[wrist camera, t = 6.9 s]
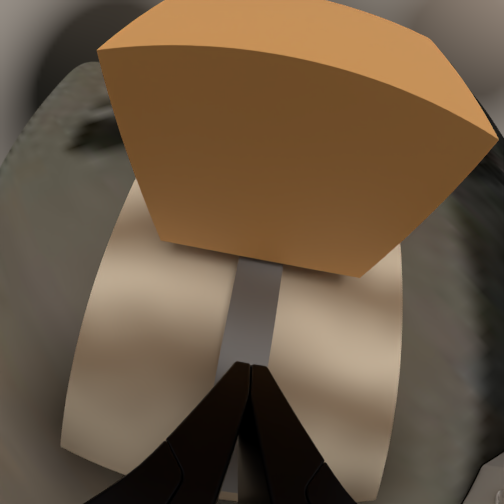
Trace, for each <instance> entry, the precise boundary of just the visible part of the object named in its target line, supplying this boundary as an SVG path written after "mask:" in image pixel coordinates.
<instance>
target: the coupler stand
mask: <svg viewBox="0 0 504 504" xmlns="http://www.w3.org/2000/svg"><path fill="white" fill-rule="evenodd" d="M401 342H402V265H401V248H400V243H399V244H398V245H397V246H396V247H395V248H394V249H393V250H392V251H390V252H389V253H388V254H387V255H386V256H385V257H384V258H383V259H381V260H380V261H379V262H378V263H377V264H376V265H375V266H373V267H372V268H371V269H370V270H369V271H368V272H366V273H365V274H364V275H363V276H362V277H361V278H357V277H351V276H346V275H341V274H335V273H330V272H324V271H319V270H314V269H308V268H303V267H297V266H292V265H287V264H281V263H276V262H271V261H265V260H260V259H255V258H250V257H244V256H239V255H234V254H228V253H223V252H218V251H213V250H207V249H202V248H197V247H192V246H187V245H181V244H176V243H171V242H166V241H161V240H160V237H159V235H158V233H157V230H156V228H155V225H154V223H153V221H152V218H151V216H150V213H149V211H148V208H147V205H146V203H145V200H144V198H143V195H142V193H141V190H140V187H139V185H138V182H137V179H135V181H134V183H133V186H132V188H131V190H130V192H129V194H128V196H127V199H126V201H125V203H124V206H123V208H122V210H121V213H120V215H119V217H118V220H117V222H116V225H115V227H114V230H113V232H112V235H111V237H110V240H109V242H108V245H107V248H106V250H105V253H104V256H103V259H102V261H101V264H100V267H99V270H98V273H97V276H96V279H95V282H94V285H93V288H92V291H91V295H90V298H89V301H88V305H87V308H86V312H85V315H84V319H83V322H82V326H81V330H80V334H79V338H78V342H77V346H76V350H75V355H74V359H73V364H72V369H71V374H70V379H69V385H68V390H67V396H66V403H65V409H64V417H63V425H62V434H61V444H60V447H62V448H64V449H66V450H68V451H70V452H72V453H74V454H76V455H78V456H80V457H83V458H85V459H87V460H89V461H91V462H94V463H96V464H98V465H101V466H103V467H106V468H108V469H111V470H113V471H116V472H119V473H121V474H124V475H127V474H128V473H129V472H131V471H132V470H133V469H134V468H136V467H137V466H138V465H140V464H141V463H142V462H143V461H144V460H145V459H146V458H147V457H148V456H149V455H150V454H151V453H152V452H153V451H154V450H155V449H156V448H157V447H158V446H159V445H160V444H161V443H162V442H163V441H166V438H167V437H168V436H169V435H170V434H171V433H172V432H173V431H174V430H175V429H176V428H177V426H178V425H179V424H180V423H181V422H182V421H183V420H184V419H185V418H186V417H187V416H188V415H189V413H190V412H191V411H192V410H193V409H194V408H195V407H196V406H197V405H198V403H199V402H200V401H201V400H202V399H203V398H204V397H205V396H206V394H207V393H208V392H209V391H210V390H211V389H212V388H213V387H214V385H215V384H216V383H217V382H218V381H219V380H220V378H221V377H222V376H223V375H224V374H225V373H226V371H227V370H228V369H229V368H230V367H231V366H232V364H233V363H234V362H236V361H240V362H245V363H249V364H250V365H252V364H257V365H264V366H267V367H268V369H269V370H270V372H271V374H272V375H273V377H274V379H275V380H276V382H277V384H278V386H279V387H280V389H281V391H282V392H283V394H284V396H285V397H286V399H287V401H288V402H289V404H290V406H291V407H292V409H293V410H294V412H295V414H296V415H297V417H298V419H299V420H300V422H301V423H302V425H303V427H304V428H305V430H306V432H307V433H308V435H309V436H310V438H311V439H312V441H313V443H314V444H315V446H316V447H317V449H318V450H319V452H320V454H321V455H322V457H323V458H324V460H325V461H324V462H326V463H327V464H328V466H329V467H330V469H331V470H332V472H333V473H334V475H335V476H336V478H337V479H338V480H339V482H340V483H341V485H342V486H343V487H344V489H345V490H346V491H347V492H348V493H349V495H350V496H351V497H352V498H353V499H354V501H355V502H363V501H370V500H376V497H377V494H378V490H379V486H380V483H381V479H382V475H383V471H384V466H385V462H386V458H387V453H388V448H389V443H390V438H391V432H392V426H393V420H394V414H395V407H396V399H397V391H398V382H399V371H400V359H401ZM218 499H223V500H230V501H238V438H237V442H236V445H235V448H234V452H233V455H232V458H231V461H230V464H229V468H228V471H227V474H226V477H225V480H224V483H223V486H222V489H221V492H220V495H219V498H218Z"/></svg>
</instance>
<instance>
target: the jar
mask: <svg viewBox="0 0 504 504" xmlns="http://www.w3.org/2000/svg"><path fill="white" fill-rule="evenodd" d="M463 504H504V452H503V453H502V454H500V455H499V456H497V457H496V458H494V459H493V460H491V461H489V462H488V463H486V464H484V465H483V466H482V467H481V469H480V471H479V473H478V475H477V477H476V479H475V481H474V483H473V485H472V487H471V489H470V491H469V493H468V495H467V497H466V498H465V500H464V502H463Z"/></svg>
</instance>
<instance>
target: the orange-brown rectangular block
mask: <svg viewBox="0 0 504 504" xmlns="http://www.w3.org/2000/svg"><path fill="white" fill-rule="evenodd" d="M97 53H98V57H99V61H100V65H101V69H102V73H103V77H104V80H105V84H106V87H107V91H108V94H109V98H110V101H111V105H112V108H113V111H114V114H115V118H116V121H117V124H118V127H119V130H120V133H121V136H122V139H123V142H124V145H125V148H126V151H127V154H128V157H129V160H130V163H131V165H132V168H133V171H134V174H135V177H136V179H137V182H138V185H139V187H140V190H141V193H142V195H143V198H144V200H145V203H146V205H147V208H148V211H149V213H150V216H151V218H152V221H153V223H154V225H155V228H156V230H157V233H158V235H159V237H160V240H161V241H166V242H171V243H176V244H181V245H187V246H192V247H197V248H202V249H207V250H213V251H218V252H223V253H228V254H234V255H239V256H244V257H250V258H255V259H260V260H265V261H271V262H276V263H281V264H287V265H292V266H297V267H303V268H308V269H314V270H319V271H324V272H330V273H335V274H341V275H346V276H351V277H357V278H361V277H362V276H363V275H364V274H365V273H366V272H368V271H369V270H370V269H371V268H372V267H373V266H375V265H376V264H377V263H378V262H379V261H380V260H381V259H383V258H384V257H385V256H386V255H387V254H388V253H389V252H390V251H392V250H393V249H394V248H395V247H396V246H397V245H398V244H399V243H400V242H402V241H403V240H404V239H405V238H406V237H407V236H408V235H409V234H410V233H411V232H412V231H413V230H414V229H415V228H416V227H418V226H419V225H420V224H421V223H422V222H423V221H424V220H425V219H426V218H427V217H428V216H429V215H430V214H431V213H432V212H433V211H434V210H435V209H436V208H437V207H438V206H439V205H440V204H441V203H442V202H443V201H444V200H445V199H446V198H447V197H448V196H449V195H450V194H451V193H452V192H453V191H454V190H455V189H456V187H457V186H458V185H459V184H460V183H461V182H462V181H463V180H464V179H465V178H466V177H467V176H468V175H469V173H470V172H471V171H472V170H473V169H474V168H475V167H476V166H477V165H478V163H479V162H480V161H481V160H482V159H483V158H484V157H485V155H486V154H487V153H488V152H489V151H490V150H491V148H492V147H493V146H494V145H495V144H496V142H497V141H498V140H499V139H498V137H497V135H496V133H495V131H494V130H493V128H492V126H491V124H490V122H489V121H488V119H487V117H486V115H485V114H484V112H483V110H482V109H481V107H480V106H479V104H478V102H477V101H476V99H475V98H474V96H473V95H472V93H471V92H470V90H469V89H468V87H467V86H466V84H465V83H464V81H463V80H462V78H461V77H460V76H459V74H458V73H457V72H456V70H455V69H454V68H453V66H452V65H451V64H450V62H449V61H448V60H447V59H446V57H445V56H444V55H443V54H442V53H441V51H440V50H439V49H438V48H437V46H436V45H435V44H434V43H433V42H432V41H431V39H429V38H427V37H425V36H423V35H421V34H419V33H417V32H415V31H412V30H410V29H408V28H406V27H403V26H401V25H399V24H396V23H394V22H391V21H389V20H386V19H384V18H381V17H378V16H376V15H373V14H370V13H367V12H364V11H361V10H358V9H354V8H351V7H348V6H345V5H341V4H337V3H333V2H330V1H326V0H164V1H163V2H161V3H159V4H158V5H156V6H155V7H153V8H152V9H150V10H149V11H147V12H146V13H144V14H143V15H141V16H140V17H138V18H137V19H136V20H134V21H133V22H131V23H130V24H129V25H127V26H126V27H125V28H123V29H122V30H121V31H119V32H118V33H117V34H116V35H114V36H113V37H112V38H111V39H109V40H108V41H107V42H106V43H104V44H103V45H102V46H101V47H100V48H99V49H97Z"/></svg>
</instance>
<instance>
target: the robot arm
mask: <svg viewBox="0 0 504 504" xmlns="http://www.w3.org/2000/svg"><path fill="white" fill-rule="evenodd" d="M237 438H238V504H357V503H356V502H355V501H354V499H353V498H352V497H351V496H350V495H349V493H348V492H347V491H346V490H345V489H344V487H343V486H342V485H341V483H340V482H339V480H338V479H337V478H336V476H335V475H334V473H333V472H332V470H331V469H330V467H329V466H328V464H327V463H326V462H324V461H325V460H324V458H323V457H322V455H321V454H320V452H319V450H318V449H317V447H316V446H315V444H314V443H313V441H312V439H311V438H310V436H309V435H308V433H307V432H306V430H305V428H304V427H303V425H302V423H301V422H300V420H299V419H298V417H297V415H296V414H295V412H294V410H293V409H292V407H291V406H290V404H289V402H288V401H287V399H286V397H285V396H284V394H283V392H282V391H281V389H280V387H279V386H278V384H277V382H276V380H275V379H274V377H273V375H272V374H271V372H270V370H269V369H268V367H267V366H264V365H257V364H252V365H250V364H249V363H245V362H240V361H236V362H234V363H233V364H232V366H231V367H230V368H229V369H228V370H227V371H226V373H225V374H224V375H223V376H222V377H221V378H220V380H219V381H218V382H217V383H216V384H215V385H214V387H213V388H212V389H211V390H210V391H209V392H208V393H207V394H206V396H205V397H204V398H203V399H202V400H201V401H200V402H199V403H198V405H197V406H196V407H195V408H194V409H193V410H192V411H191V412H190V413H189V415H188V416H187V417H186V418H185V419H184V420H183V421H182V422H181V423H180V424H179V425H178V426H177V428H176V429H175V430H174V431H173V432H172V433H171V434H170V435H169V436H168V437H167V438H166V441H163V442H162V443H161V444H160V445H159V446H158V447H157V448H156V449H155V450H154V451H153V452H152V453H151V454H150V455H149V456H148V457H147V458H146V459H145V460H144V461H143V462H142V463H141V464H140V465H138V466H137V467H136V468H134V469H133V470H132V471H131V472H129V473H128V474H127V475H125V476H124V477H123V478H121V479H120V480H119V481H117V482H116V483H114V484H113V485H111V486H110V487H108V488H107V489H105V490H104V491H102V492H101V493H99V494H98V495H96V496H95V497H93V498H92V499H90V500H88V501H87V502H85V503H84V504H217V501H218V498H219V495H220V492H221V489H222V486H223V483H224V480H225V477H226V474H227V471H228V468H229V464H230V461H231V458H232V455H233V452H234V448H235V445H236V442H237Z"/></svg>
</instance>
